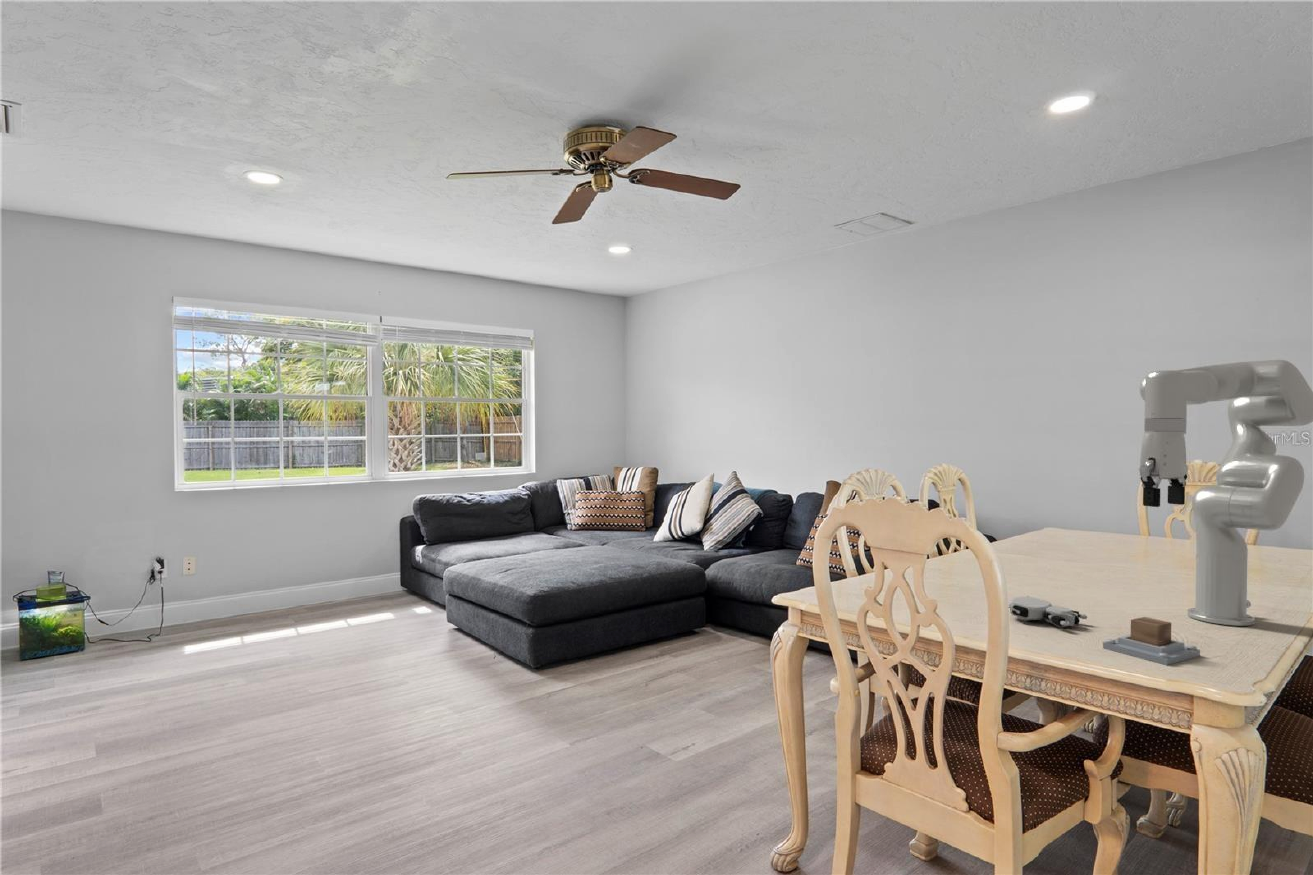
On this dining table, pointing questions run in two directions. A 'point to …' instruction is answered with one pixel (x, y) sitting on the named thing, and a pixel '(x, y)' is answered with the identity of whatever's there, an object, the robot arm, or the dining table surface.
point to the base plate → (1152, 650)
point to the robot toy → (1043, 612)
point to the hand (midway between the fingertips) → (1163, 505)
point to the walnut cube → (1151, 631)
